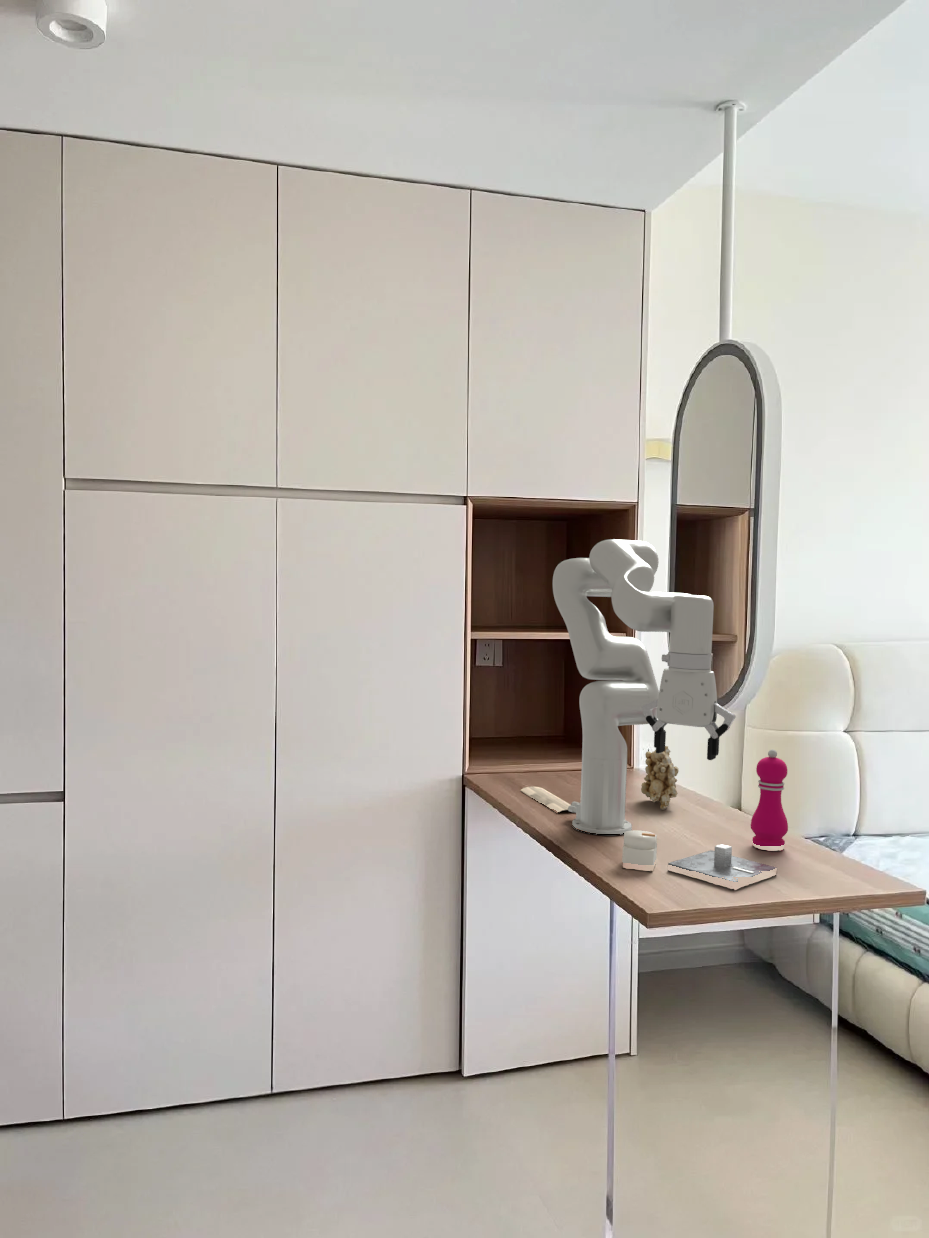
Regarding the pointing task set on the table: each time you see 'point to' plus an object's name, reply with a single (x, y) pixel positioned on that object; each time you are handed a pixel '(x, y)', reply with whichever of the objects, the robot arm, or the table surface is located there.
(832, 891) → the table surface
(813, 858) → the table surface
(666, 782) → the mineral formation
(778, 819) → the pepper mill
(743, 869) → the grey thin square slab
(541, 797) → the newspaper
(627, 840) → the knob
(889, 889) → the table surface
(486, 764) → the table surface
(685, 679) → the robot arm
